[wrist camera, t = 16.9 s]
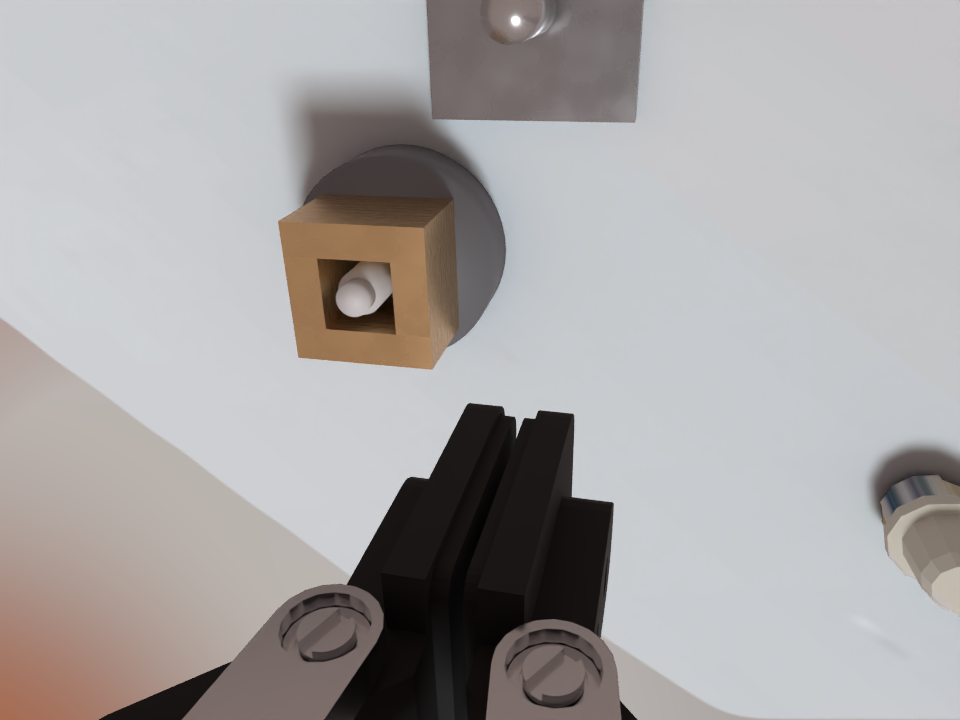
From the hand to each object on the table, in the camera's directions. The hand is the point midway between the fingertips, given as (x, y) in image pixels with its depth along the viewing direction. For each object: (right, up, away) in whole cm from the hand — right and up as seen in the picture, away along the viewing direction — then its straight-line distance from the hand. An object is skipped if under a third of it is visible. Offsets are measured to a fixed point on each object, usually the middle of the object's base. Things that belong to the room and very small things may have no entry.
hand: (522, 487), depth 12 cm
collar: (-5, +7, +28) cm, 29 cm away
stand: (+2, +19, +24) cm, 30 cm away
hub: (-5, +9, +30) cm, 32 cm away
